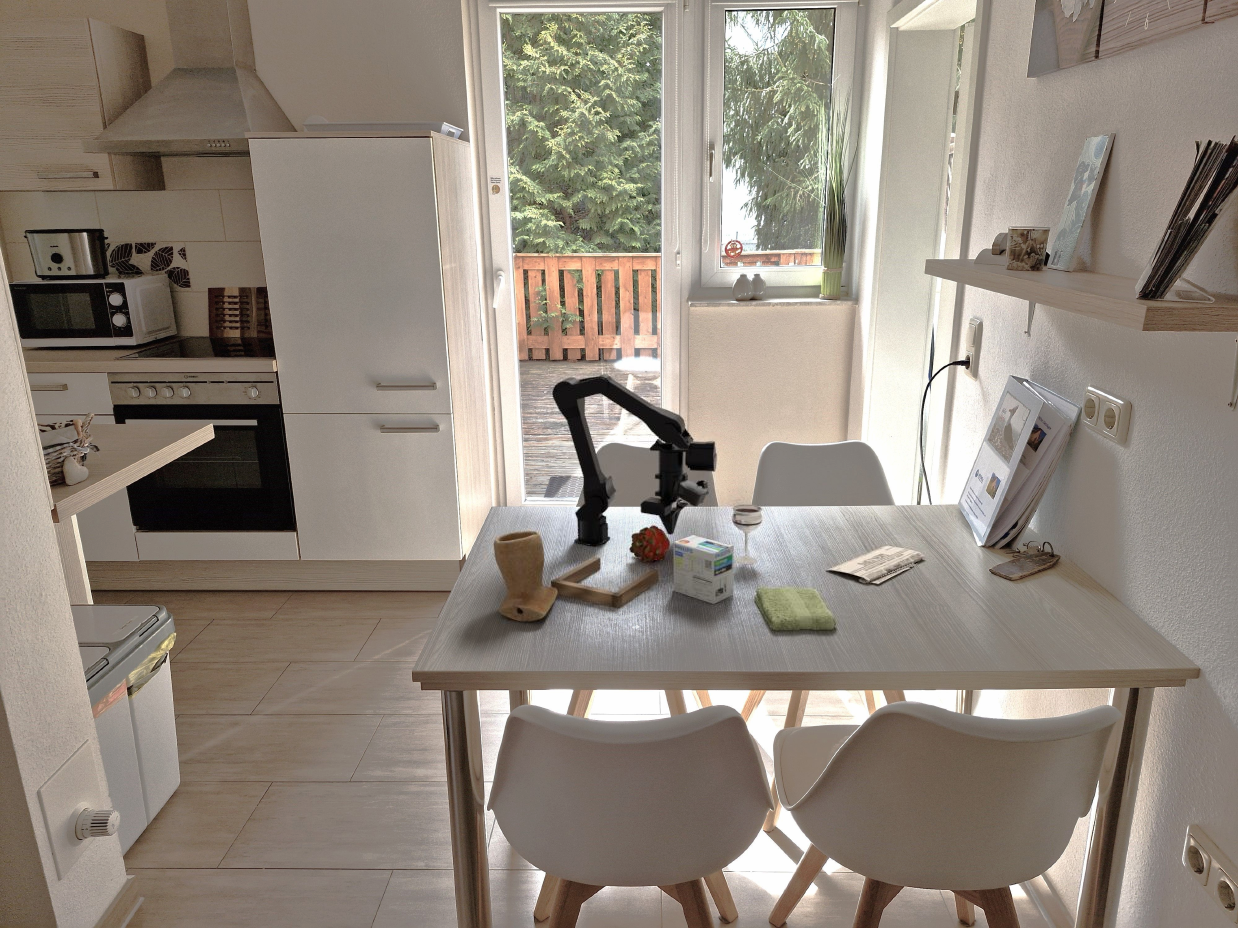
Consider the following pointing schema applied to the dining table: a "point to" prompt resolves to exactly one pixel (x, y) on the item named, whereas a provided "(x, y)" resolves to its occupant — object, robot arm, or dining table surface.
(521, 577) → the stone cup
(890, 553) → the newspaper
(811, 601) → the washcloth
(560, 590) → the frame
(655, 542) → the dragon fruit
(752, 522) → the wineglass
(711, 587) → the light bulb box
